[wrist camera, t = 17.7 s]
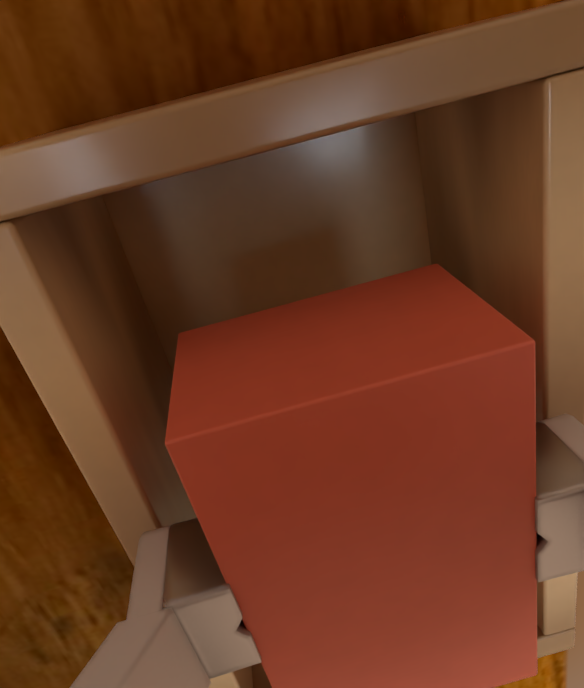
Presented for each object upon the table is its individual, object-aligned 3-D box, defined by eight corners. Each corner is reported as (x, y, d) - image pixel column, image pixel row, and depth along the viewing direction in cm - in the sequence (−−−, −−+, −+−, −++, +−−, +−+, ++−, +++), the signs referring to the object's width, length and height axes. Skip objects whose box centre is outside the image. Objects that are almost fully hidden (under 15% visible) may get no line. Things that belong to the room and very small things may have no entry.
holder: (44, 133, 11) (-89, 172, 6) (431, 31, 11) (607, -11, 6) (225, 558, 17) (232, 749, 12) (471, 489, 18) (576, 648, 13)
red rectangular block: (176, 332, 9) (163, 443, 6) (436, 261, 9) (537, 339, 6) (277, 597, 12) (297, 745, 9) (465, 544, 12) (538, 675, 9)
